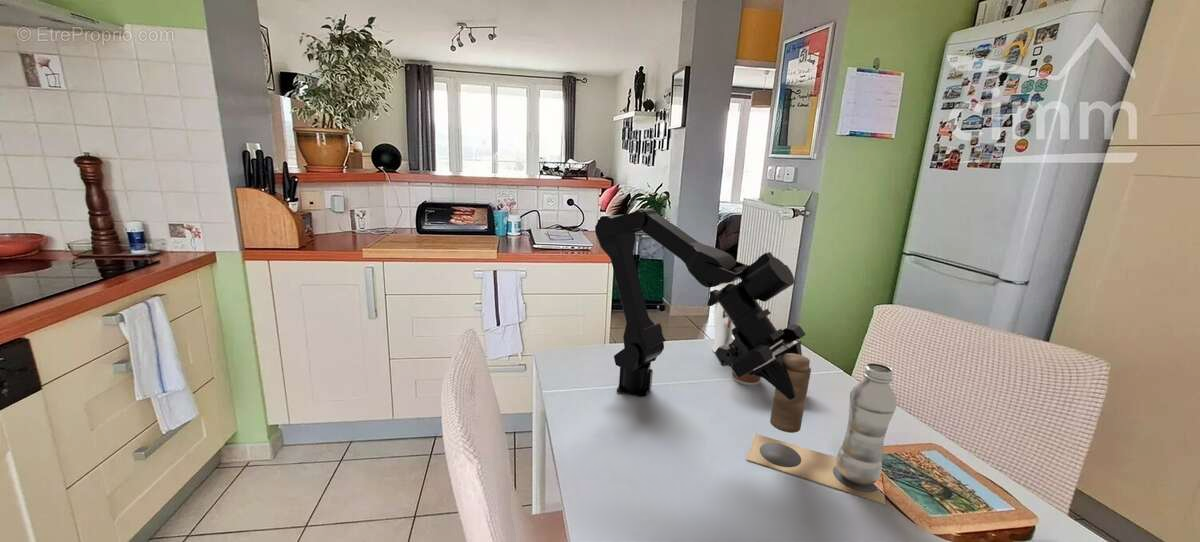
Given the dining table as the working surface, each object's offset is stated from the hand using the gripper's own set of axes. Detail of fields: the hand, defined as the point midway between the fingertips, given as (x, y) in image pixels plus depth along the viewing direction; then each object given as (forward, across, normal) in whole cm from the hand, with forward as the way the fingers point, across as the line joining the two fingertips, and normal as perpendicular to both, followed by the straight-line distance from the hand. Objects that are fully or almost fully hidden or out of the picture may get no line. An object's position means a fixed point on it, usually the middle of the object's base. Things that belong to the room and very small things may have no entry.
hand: (798, 393), depth 80 cm
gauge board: (+12, -1, -6) cm, 14 cm away
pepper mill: (+4, 0, -6) cm, 7 cm away
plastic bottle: (+16, -3, -2) cm, 17 cm away
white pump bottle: (-12, -35, -31) cm, 48 cm away
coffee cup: (-4, -24, -23) cm, 33 cm away
